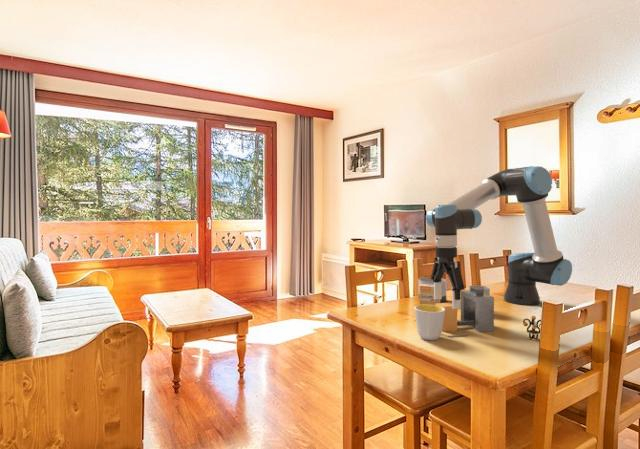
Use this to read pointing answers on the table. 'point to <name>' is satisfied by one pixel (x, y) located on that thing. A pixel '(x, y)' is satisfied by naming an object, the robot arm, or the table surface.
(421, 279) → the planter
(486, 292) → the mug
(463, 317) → the housing
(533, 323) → the figurine
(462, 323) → the plug
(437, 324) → the mug
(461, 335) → the bay
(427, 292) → the supplement box
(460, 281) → the robot arm
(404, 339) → the table surface
